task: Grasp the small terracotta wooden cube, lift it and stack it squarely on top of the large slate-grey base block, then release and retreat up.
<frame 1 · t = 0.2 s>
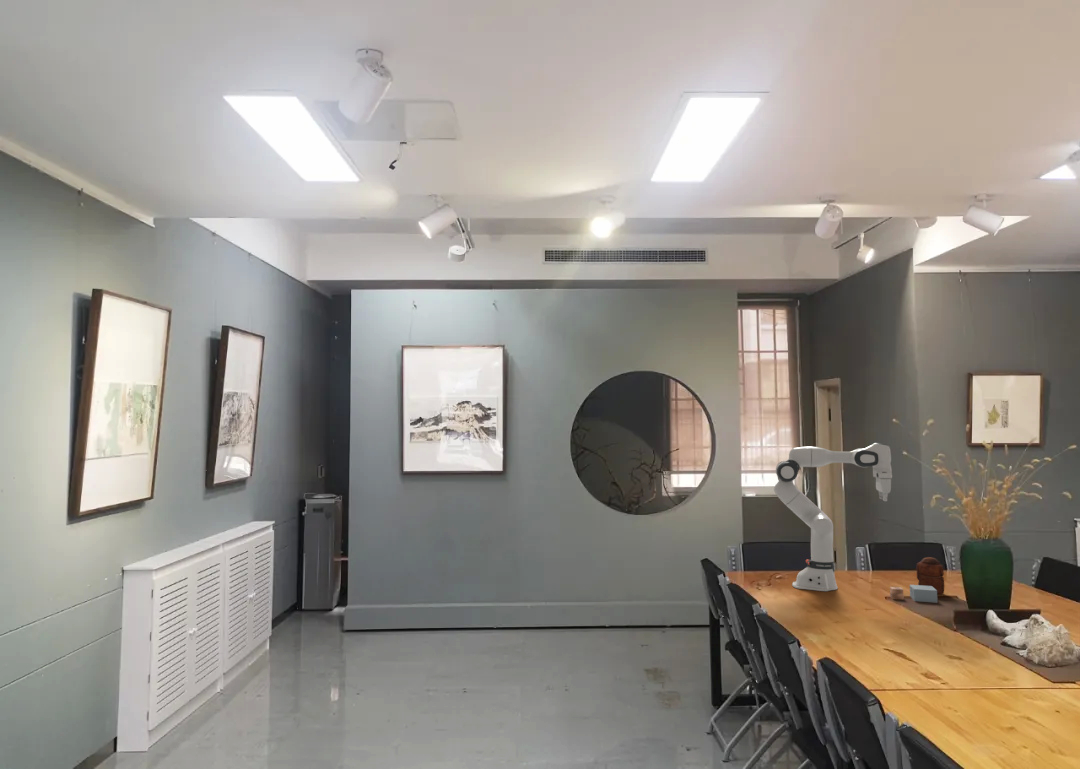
hand: (883, 500, 346), 47 cm above the table, fingers open, 8 cm apart
terracotta cube: (896, 598, 329), on the table
wooden figurine: (930, 592, 341), on the table
slate base block: (923, 599, 327), on the table
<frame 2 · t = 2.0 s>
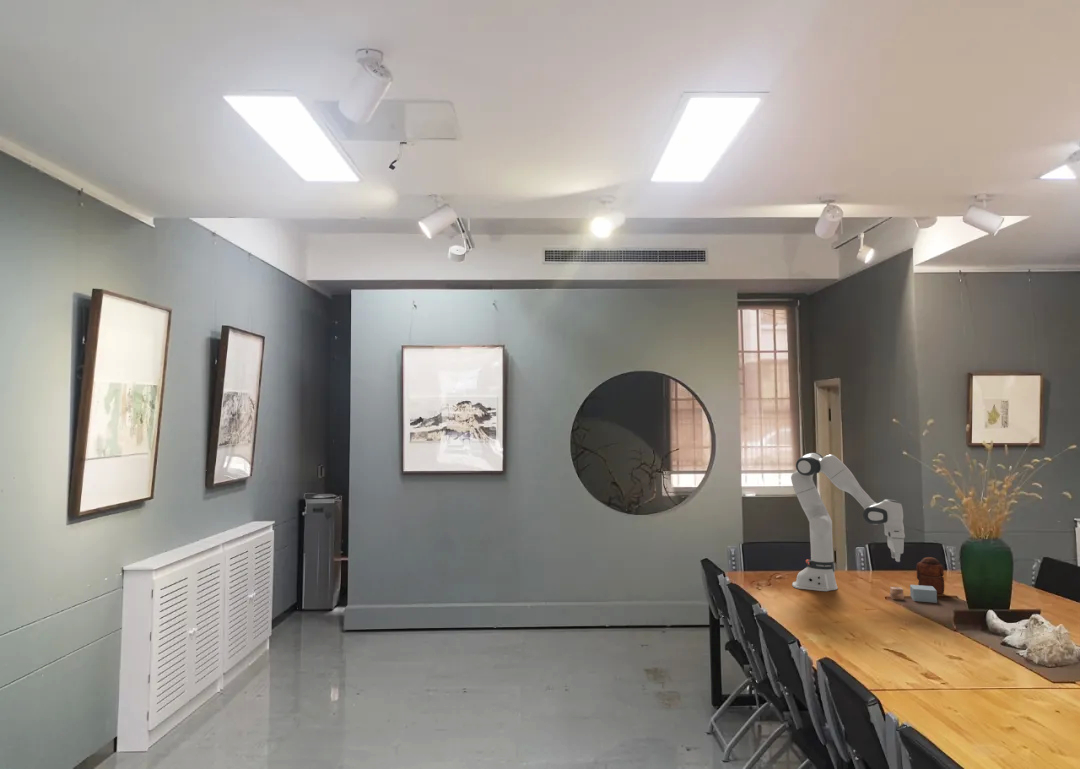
hand: (895, 559, 331), 19 cm above the table, fingers open, 8 cm apart
nothing on the table moved.
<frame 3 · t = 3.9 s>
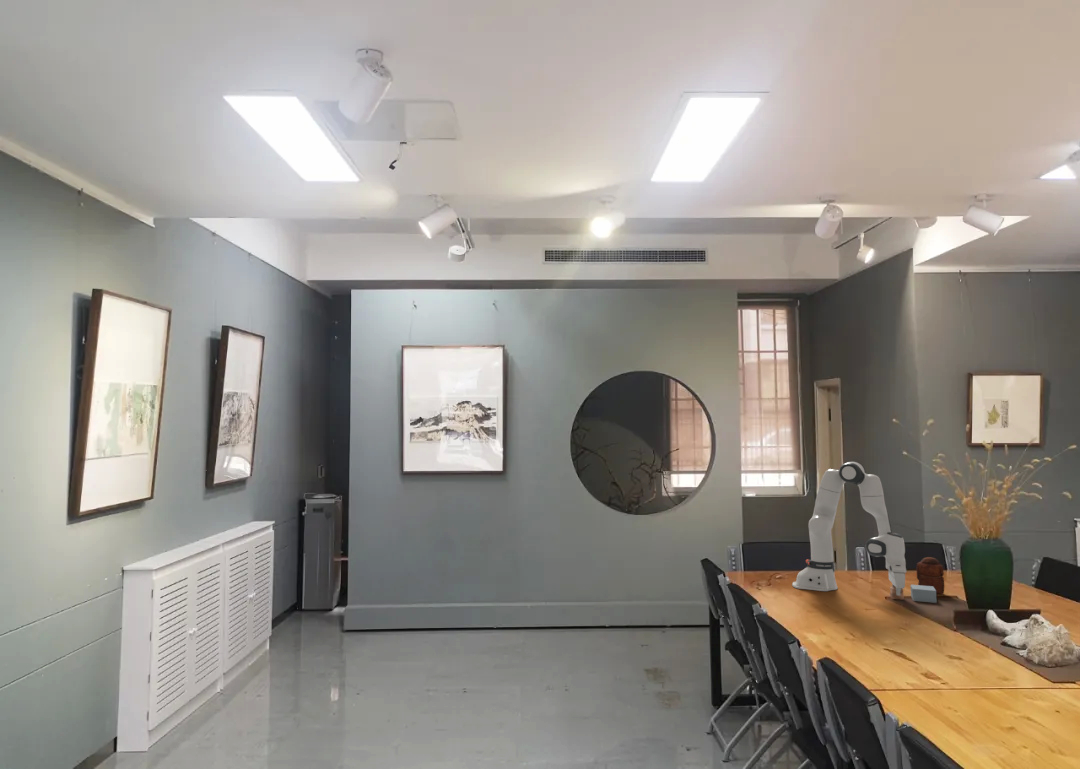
hand: (896, 593, 330), 2 cm above the table, fingers closed on terracotta cube, 5 cm apart
terracotta cube: (896, 598, 330), on the table, touching gripper
everything else where it was.
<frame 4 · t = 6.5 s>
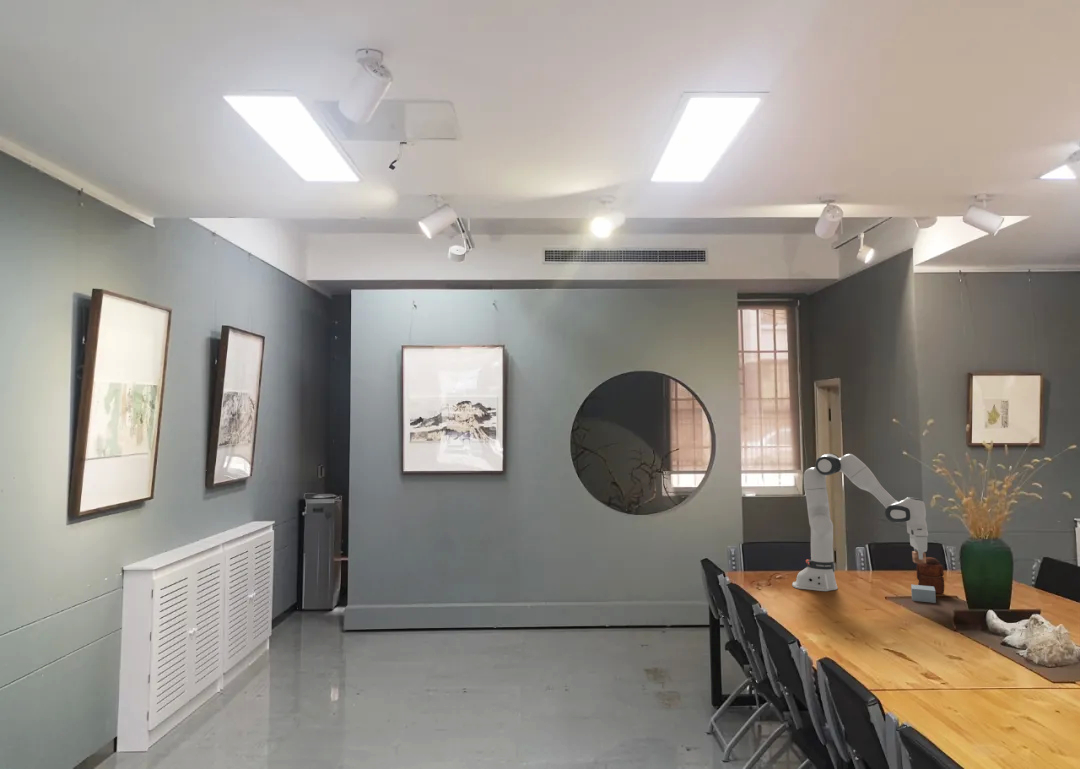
hand: (919, 558, 328), 20 cm above the table, fingers closed on terracotta cube, 5 cm apart
terracotta cube: (919, 562, 328), point 18 cm above the table, touching gripper
everything else where it was.
when the fingers open (10 cm above the table, at t = 9.3 s): terracotta cube drops 2 cm, point 6 cm above the table.
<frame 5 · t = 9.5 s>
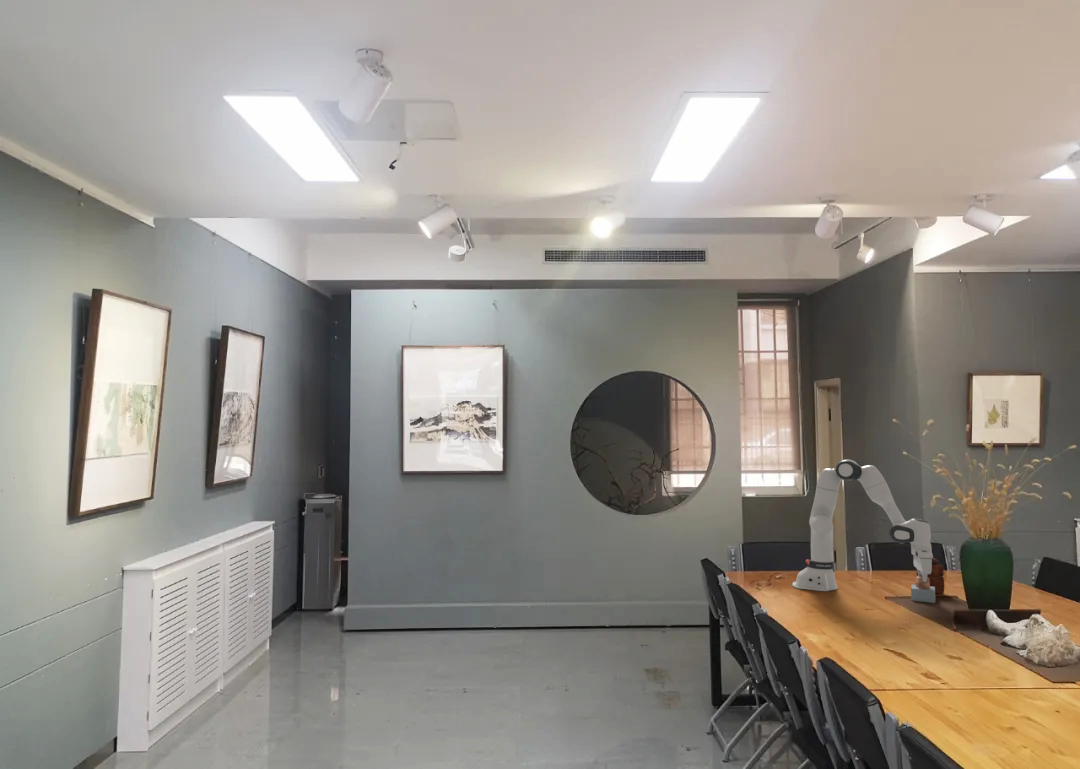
hand: (922, 579, 327), 10 cm above the table, fingers open, 7 cm apart
terracotta cube: (922, 587, 327), point 6 cm above the table
everything else where it was.
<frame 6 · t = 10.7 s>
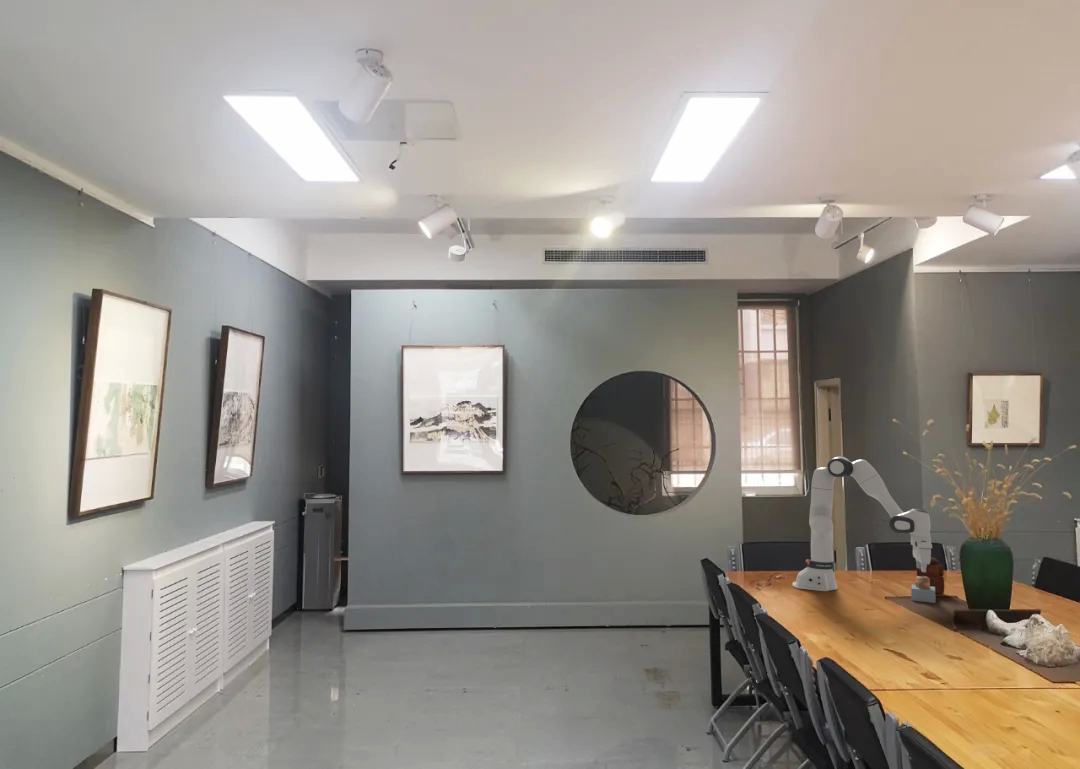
hand: (921, 570, 328), 14 cm above the table, fingers open, 8 cm apart
terracotta cube: (922, 587, 327), point 6 cm above the table, touching slate base block
slate base block: (923, 599, 327), on the table, touching terracotta cube
everything else where it was.
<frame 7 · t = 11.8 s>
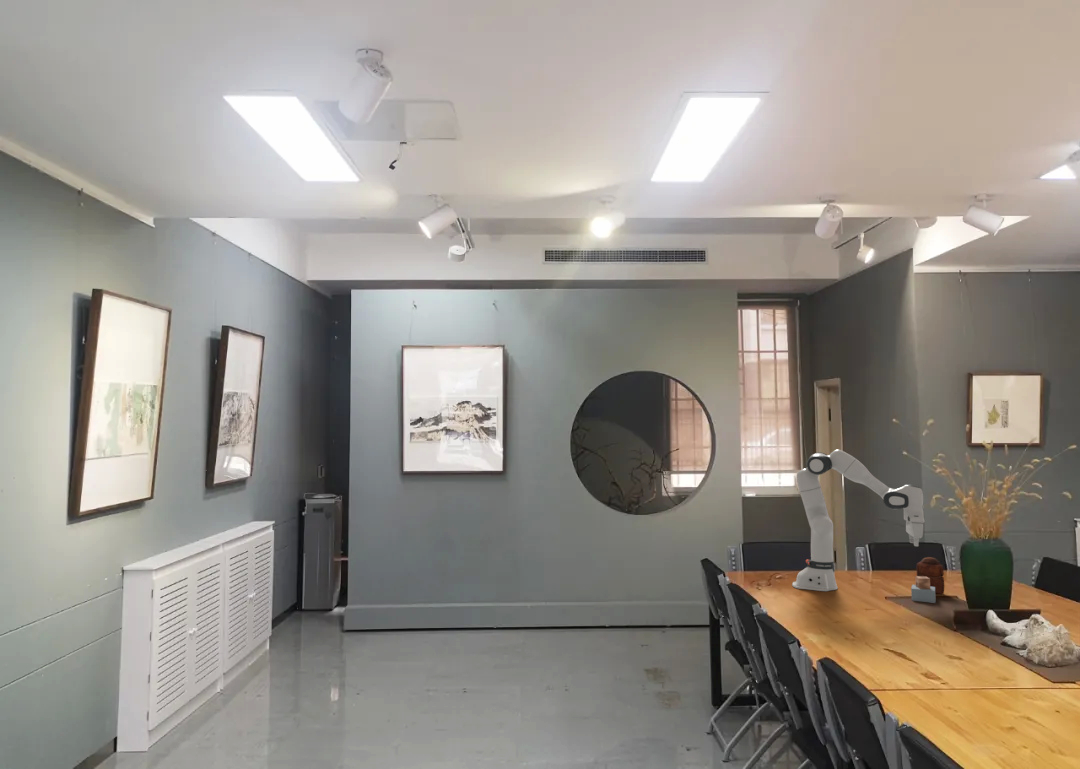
hand: (914, 544, 332), 26 cm above the table, fingers open, 8 cm apart
nothing on the table moved.
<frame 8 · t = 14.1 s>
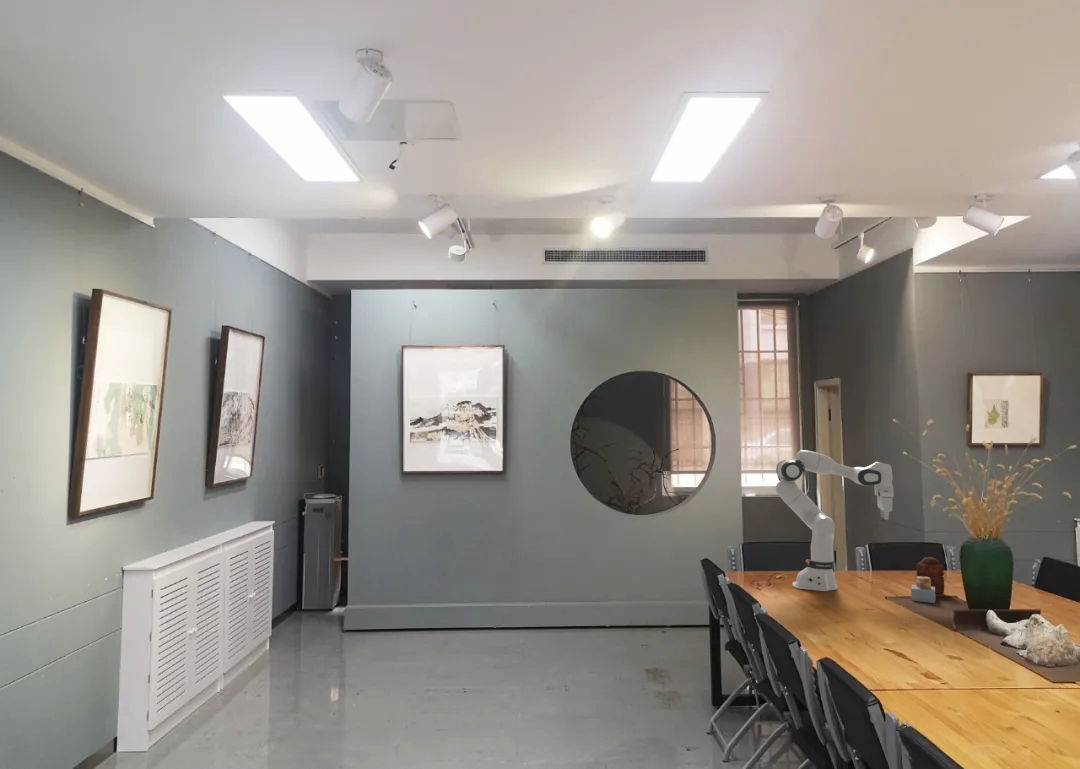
hand: (884, 518, 350), 37 cm above the table, fingers open, 8 cm apart
terracotta cube: (923, 587, 327), point 6 cm above the table
slate base block: (923, 600, 327), on the table
everything else where it was.
at the end: terracotta cube 0.3 cm off-centre on the slate base block, point 6.0 cm above the slate base block's base; terracotta cube tilted 0°; the gripper is holding nothing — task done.
